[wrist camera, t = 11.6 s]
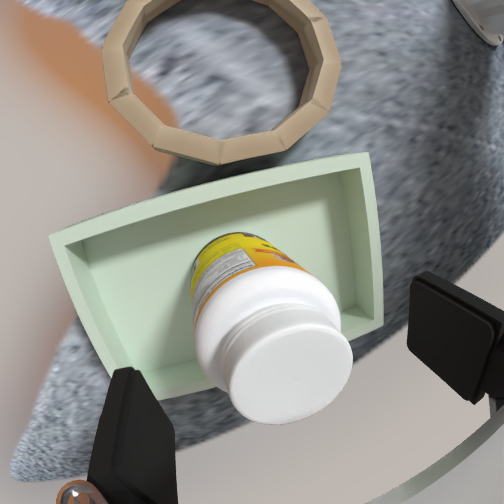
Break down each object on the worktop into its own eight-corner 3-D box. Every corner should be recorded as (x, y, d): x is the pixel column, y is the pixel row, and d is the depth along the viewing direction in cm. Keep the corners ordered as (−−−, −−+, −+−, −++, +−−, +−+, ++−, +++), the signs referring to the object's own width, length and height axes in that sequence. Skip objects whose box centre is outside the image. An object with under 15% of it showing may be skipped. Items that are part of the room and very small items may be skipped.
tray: (342, 154, 18) (368, 151, 15) (361, 308, 21) (383, 325, 18) (68, 226, 15) (48, 235, 12) (133, 378, 18) (128, 405, 16)
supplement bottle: (295, 284, 19) (390, 378, 9) (222, 331, 18) (261, 459, 9) (251, 210, 17) (340, 256, 7) (170, 262, 16) (157, 372, 7)
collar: (294, -19, 14) (304, -34, 12) (342, 142, 18) (360, 139, 15) (105, 7, 12) (98, -9, 9) (134, 189, 15) (126, 190, 13)
